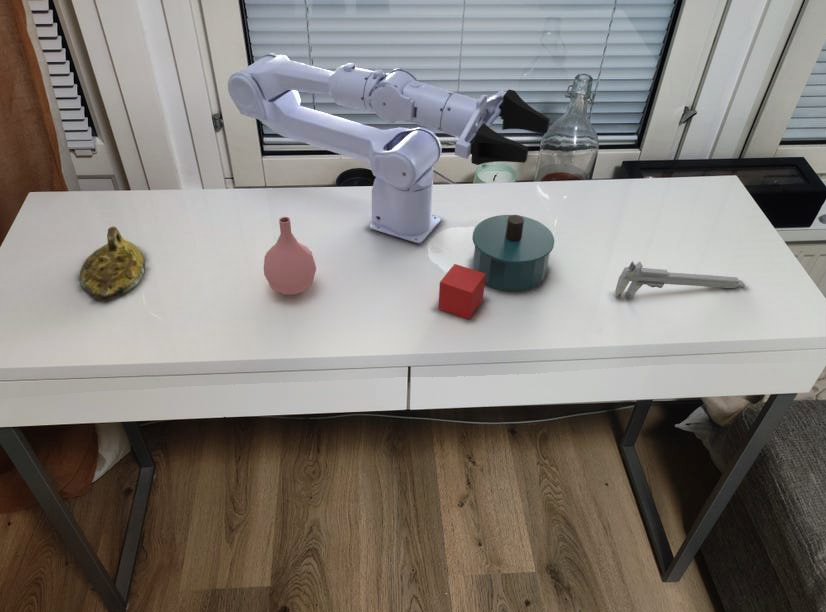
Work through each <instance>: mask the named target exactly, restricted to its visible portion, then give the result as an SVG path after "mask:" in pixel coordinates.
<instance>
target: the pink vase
mask: <svg viewBox="0 0 826 612" xmlns="http://www.w3.org/2000/svg"><path fill="white" fill-rule="evenodd" d="M278 223H279V230H280V234H279V236H278V238H277V240H276V243H275V244H274V245H272V247H270V249H269V250H267V252H266V253H265V255H264V258H263V276H264V277H265V280H266V281H267V283H268V285H269V286H270V288H271V290H273V291H274V292H277V293H279V294H283V295H296V294H301V293H303V292H305V291H307V290H308V289H309V288H311V286H312V284H313V281H314V279H315V275H316V272H317V265H316V262H315V258H314V255H313V252H312V250H311V249H310V248H309V247H308V246H306V245H304V244H303V243H301V242H299V241H298V239H297V238H296V237H295V235H294V234H293V233H292V226H291V225H292V223H291V218H290V217H288V216H282V217H280V218H278Z"/></svg>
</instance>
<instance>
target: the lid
mask: <svg viewBox="0 0 826 612" xmlns="http://www.w3.org/2000/svg"><path fill="white" fill-rule="evenodd" d="M553 234H554V233H553V232H552V231H551V230H550V229H549V227H547V226H546V225H545V224H544V223H542V222H540V221H539V220H536V219H534V218H531V217H528V216H523V215H520V214H499V215H495V216H491V217H488V218H486V219H485V218H484V220H482V221H481V222H479V223H478V224H477V225H476V226H475V227H474V229H473V231H472V243H473V245H474V248H475V247H476V248H477V249H478V250H479V251H480V252H481V253H482V254H484V255H485V256H487V257H489V258H491V259H493V260H496V261H499V262H503V263H509V264H527V263H532V262H536V261H539V260H541V259H543V258H545V257H546V256H548V255H549V256H550V254H551V252H552V251H553V250H554V247H555V237H554V235H553Z"/></svg>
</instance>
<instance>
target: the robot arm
mask: <svg viewBox="0 0 826 612" xmlns="http://www.w3.org/2000/svg"><path fill="white" fill-rule="evenodd" d="M227 92H228V94H229V97H230V99H231V100H232V102H233V103H234V105H235V107H236V108H237V110H238V112H239V113H240V114H241V115H243V116H246V117H249V118H253V119H256V120H258V121H260V122H261V124H264V125H265V126H267V127H268V128H269V129H271V130H272V131H273V132H275V133H276V134H277V135H279V136H281V137H283V138H287V139H289V140H293V141H297V142H300V143H303V144H307V145H310V146H313V147H314V148H315V147H316V148H319V149H322V150H325V151H329V152H332V153H335V154H339V155H341V156H345V157H346V158H351V159H354V160H356V161H357V160H358V161H361V162H364V163H367V164H369V165H370V170H371V172H372V175H373V176H374V177H375V178H374V180H373V184H372V188H371V224H370V225H369V228H370V229H371V230H372V231H373V230H374V231H377V232H380V233H383V234H386V235H389V236H393V237H395V238H400V239H403V240H406V241H408V242H411V243H412V242H413V243H415V244H419V245H420V244H422V243H423V242H424V241H425V239H426V238H428V236H430V234H431V233H432V231H433V230H434V229H435V228H436V227H437V226H439V223H440V222H441V219H442V218H441V217H438V216H436V215H433V194H434V167H435V164H436V163H437V162H438V161H439V160H440V159H441V156H442V151H443V149H442V144H441V141H440V139H439V137H438V136H437V134H435V133H434V131H437V132H439V133H443V134H446V135H449V136H452V137H456V138H458V139H457V141H456V142H455V143H454V147H455V148H454V155H455V156H456V157H458V158H459V157H460V158H463V159H466V160H468V159H469V157H470V156H471V160H470V161H471V164H473V165H476V166H480V165H484V164H487V163H498V162H504V163H505V162H506V163H526V162H527V161H528V154H529V147H528V146H526V145H524V144H523V143H520V142H518V141H516V140H513V139H510V138H507V137H506V136H504V135H502V134H500V133H498V132H497V131H495V130H494V129H492V128H491V126H492V125H493V124H494V122H495V121H496V120H497V119H498V117H500V120H502V125H501V130H503V131H505V130H524V131H529V132H533V133H537V134H547V133H548V131H549V127H550V120H551V119H550V118H549V117H548V116H546V115H544V114H542V113H541V112H539V111H537V110H536V109H535V108H533V107H532V106H530V105H529V104H528V103H526V101H525V100H524V99H522V97H520V95H519V94H518V93H517V91H516V90H513V89H510V88H509V89H507V91H502V90H498V91H497V92H496V93H495V94H493V95H491V96H489V97H488V96H487V95H486V94H481V95H480V96H479V97H478V99H477V98H473V97H470V96H468V95H463V94H460V93H457V92H454V91H451V90H448V89H444V88H442V87H438V86H435V85H432V84H429V83H428V84H427V83H425V82H421V81H419V80H418V78H417V77H416V76H415V75H414V74H413V73H412V72H411V71H408V70H406V69H403V68H402V67H398V68H397V67H396V68H394V69H393V70H391V71H390V72H388V73H386V72H384V70H383V69H375V70H369V69H364V68H359V67H356V64H355V63H353V62H348V63H346V64H344V65H341V66H339V67H337V68H336V70H335V71H331V70H329V69H325V68H320V67H318V66H313V65H309V64H307V63H302V62H298V61H294V60H292V59H289V58H288V56H287V55H285V54H279V55H278V54H276V53H265V54H264V55H263V56H261V58H259V59H258V60H256V61H255V62H253V63H252V64H250V65H248V66H246V67H244V68H243V69H241V70H240V71H236V72H234V73H232V74H231V75H230V76H229V78H228V80H227ZM299 92H303V93H310V94H319V95H326V96H330V97H331V99H332V101H333V102H334V103H335V104H336V105H338V106H343V107H347V108H351V109H356V110H361V111H362V110H363V111H366V112H370V113H374V114H375V115H377V116H378V117H379V118H381V119H382V122H383V123H385V124H394V123H397V122H398V121H402V122H406V123H411V124H415V125H418V126H421V127H415V128H406V127H403V126H402V127H394V128H388V129H380V128H377V127H374V126H371V125H367V124H363V123H360V122H356V121H353V120H350V119H346V118H343V117H339V116H336V115H333V114H329V113H326V112H322V111H318V110H315V109H312V108H309V107H306V106H302V105H301V97H300V93H299ZM430 129H431V130H430ZM432 130H433V131H432Z"/></svg>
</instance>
